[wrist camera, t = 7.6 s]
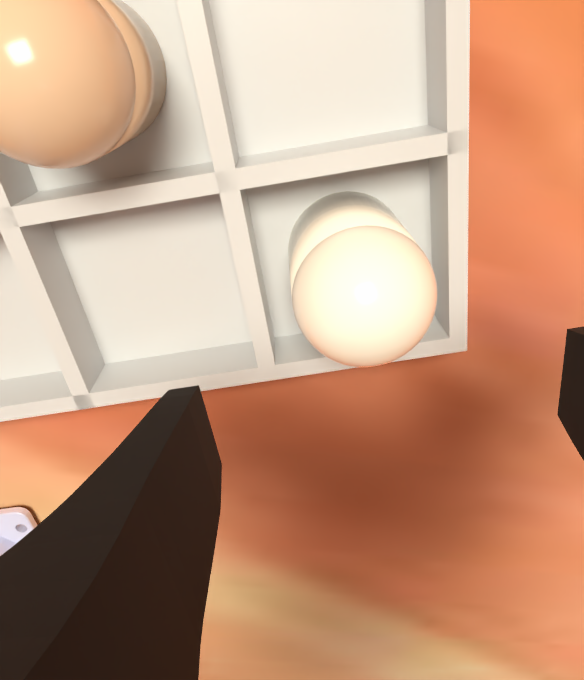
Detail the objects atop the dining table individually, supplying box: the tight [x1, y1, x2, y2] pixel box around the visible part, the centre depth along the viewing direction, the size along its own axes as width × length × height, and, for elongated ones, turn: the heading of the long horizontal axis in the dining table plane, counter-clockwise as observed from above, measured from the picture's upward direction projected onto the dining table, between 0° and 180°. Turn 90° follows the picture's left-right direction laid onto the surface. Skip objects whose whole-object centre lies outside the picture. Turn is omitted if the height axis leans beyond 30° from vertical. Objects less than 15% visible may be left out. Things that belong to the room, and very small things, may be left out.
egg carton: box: [0, 0, 470, 422], centre depth 16 cm, size 14×20×2 cm
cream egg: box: [288, 191, 437, 367], centre depth 15 cm, size 4×4×6 cm
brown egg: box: [0, 0, 167, 169], centre depth 12 cm, size 4×4×6 cm
